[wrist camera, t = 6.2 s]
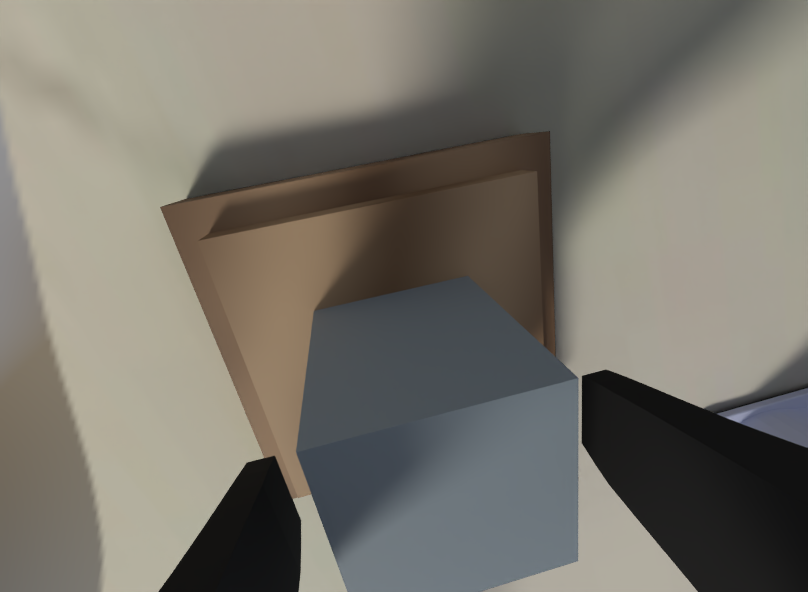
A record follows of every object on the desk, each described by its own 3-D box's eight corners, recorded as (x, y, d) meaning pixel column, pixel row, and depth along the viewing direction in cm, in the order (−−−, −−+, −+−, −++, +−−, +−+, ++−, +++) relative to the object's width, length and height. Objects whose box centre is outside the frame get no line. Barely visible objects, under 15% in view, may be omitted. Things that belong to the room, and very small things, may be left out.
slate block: (467, 275, 12) (578, 377, 7) (482, 400, 14) (577, 561, 9) (313, 310, 12) (296, 452, 6) (350, 435, 14) (361, 628, 8)
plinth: (521, 133, 14) (567, 129, 11) (534, 398, 18) (570, 442, 16) (185, 198, 13) (144, 212, 10) (287, 464, 17) (279, 523, 15)
